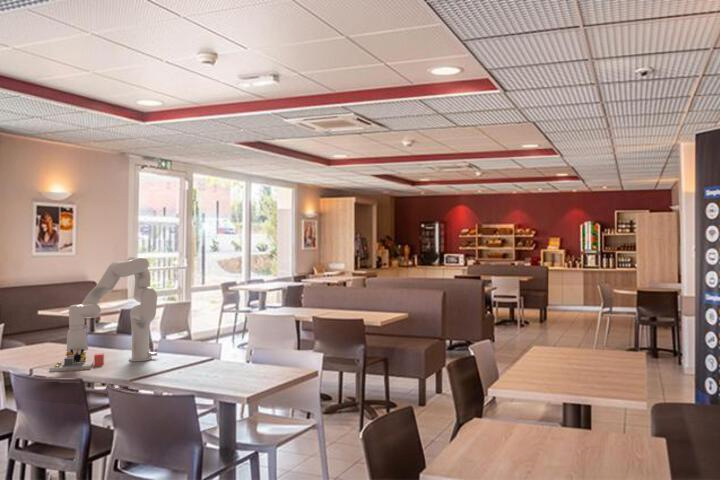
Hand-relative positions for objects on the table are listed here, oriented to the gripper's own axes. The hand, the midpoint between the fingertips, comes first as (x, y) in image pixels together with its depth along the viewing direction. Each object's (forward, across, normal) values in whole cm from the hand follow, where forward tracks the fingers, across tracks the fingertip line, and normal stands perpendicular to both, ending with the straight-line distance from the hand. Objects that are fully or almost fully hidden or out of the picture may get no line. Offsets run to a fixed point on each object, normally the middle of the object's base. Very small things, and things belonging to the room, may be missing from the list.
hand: (77, 361), depth 330 cm
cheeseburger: (+4, +4, -22) cm, 23 cm away
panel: (+4, +3, -3) cm, 6 cm away
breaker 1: (+2, +4, 0) cm, 5 cm away
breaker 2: (+2, +4, -6) cm, 7 cm away
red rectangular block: (+4, -10, -8) cm, 13 cm away
